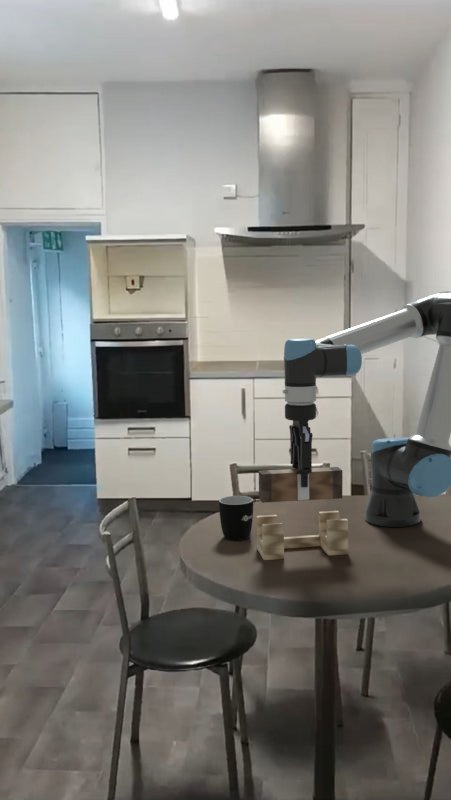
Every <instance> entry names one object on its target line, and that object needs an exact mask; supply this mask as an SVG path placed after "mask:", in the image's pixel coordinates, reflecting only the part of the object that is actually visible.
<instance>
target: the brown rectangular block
mask: <svg viewBox="0 0 451 800" xmlns="http://www.w3.org/2000/svg"><path fill="white" fill-rule="evenodd" d="M298 471H299V469H294V468H287V469H286V468H285V469H268V470H266V469H265V470H262V469H261V470H258V499H259V501H260V502H261V504H262V503H263V504H264V503H277V502H278V503H279V502H298V501H299V502H300V501H303V500H298V479H297V474H296V472H298ZM336 499H337V500H338V499H339V500H340V499H343V470H342V469H341V468H340V467H339V466H330V467H329V466H327V467H312V472H311V473H309V500H308V501H315V500H316V501H317V500H336Z"/></svg>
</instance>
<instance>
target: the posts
mask: <svg viewBox="0 0 451 800" xmlns="http://www.w3.org/2000/svg"><path fill="white" fill-rule="evenodd" d="M255 518H256V549H257V551H258V553H259V554H260V556H261V558H262V559H263V561H271V560H282V559H285V549H286V550H287V549H297V548H298V549H300V548H312V547H313V548H315V547H320V548H321V549H322V550H323V551H324V552H325V553H326V554H327V556H338V555H349V520H348V519H347V518H340V511H339V510H329V511H327V510H326V511H318V534H311V535H297V536H285V533H284V532H285V530H284V529H285V528H284V526H285V525H284V524H285V523H283V522H278V515H277V514H265V515H264V514H263V515H256V517H255Z"/></svg>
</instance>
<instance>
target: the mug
mask: <svg viewBox="0 0 451 800" xmlns="http://www.w3.org/2000/svg"><path fill="white" fill-rule="evenodd" d="M218 508H219V509H218V510H219V519H220V526H221V532H222V535H223V537H224V539H226V540H229V541H233V542H239V541H240V542H241V541H245V540H247V539H249V537H250V535H251V533H252V529H253V528H252V526H253V519H254V499H253V498H252V497H251V496H245V495H228V496H224V497H221V498H220V499H218Z"/></svg>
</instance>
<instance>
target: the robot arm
mask: <svg viewBox="0 0 451 800" xmlns="http://www.w3.org/2000/svg"><path fill="white" fill-rule="evenodd" d="M429 335H430V336H431V335H434V336H435V339H436V340H437V342H438V345H439V347H438V350H437V355H436V357H435V360H434V365H433V368H432V372H431V376H430V378H429V379H430V380H429V383H428V386H427V390H426V394H425V397H424V402H423V405H422V408H421V412H420V414H419V415H420V416H419V419H418V423H417V427H416V431H415V432H414V434H412V435H410V436H409V437H407V436H406V437H386V438H379V439H375V440H373V442H371V448H370V449H371V450H370V456H371V457H370V458H371V461H370V463H371V466H370V467H371V468H370V469H371V470H370V471H371V472H370V473H371V477H370V478H371V482H370V483H371V492H370V495H369V498H368V502H367V505H366V507H365V509H364V519H365V521H366V522H367V523H369V524H372V525H374V526H375V525H376V526H380V527H385V528H386V527H387V528H388V527H389V528H406V527H413V526H415V525H417V524H419V523H421V511H420V508H419V505H418V501H417V498H416V495H417V496H420V497H426V498H436V497H439V496H441V495H442V494H444V493H446V492H447V491H448V490H449V488H450V487H451V444H450V443H449V441H450V437H451V291H440V292H436V293H433V294H430V295H428V296H425V297H422V298H420V299H418V300H414V301H412V302H409V303H407V304H406V303H405V304H404V305H403V306H402V307H401V310H398V311H395V312H392V313H390V314H387V315H383V316H382V317H378V318H375V319H373V320H369V321H367V322H363V323H361V324H359V325H355V326H353V327H349V328H347V329H344V330H342V331H338V332H337V333H333V334H331V335H328V336H325V337H322V338H320V339H316V340H315V339H314V338H306V337H305V338H304V337H303V338H290V339H287V340H286V341H285V342H284V348H283V349H284V352H283V366H284V389H283V390H282V394H284V401H285V402H286V403H285V404H284V419H286V420H288V421H292V424H290V425H289V427H288V428H289V433H290V434H289V436H290V443H289V445H290V464H291V467H292V469H299V471H298V472H296V474H297V479H298V500H302V501H310V500H309V473H311V472H312V468H313V467H312V466H313V465H312V464H313V462H312V460H313V459H312V457H313V456H312V455H313V453H312V452H313V451H312V450H313V448H312V447H313V446H312V445H313V444H312V442H313V433H312V432H311V427H310V426H309V421H312V420H315V419H316V418H317V404H316V403H315V402H316V401H317V383H316V382H317V378H321V377H343V376H345V377H347V376H353V375H356V374H358V373H359V371H360V370H361V369H362V364H363V362H362V361H363V360H362V359H363V358H362V357H363V356H362V355H364V354H367V353H369V352H371V351H375V350H378V349H380V348H383V347H387V346H388V345H391V344H394V343H396V342H399V341H403V340H405V339H408V338H412V339H418V338H421V337H424V336H425V337H426V336H429Z"/></svg>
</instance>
